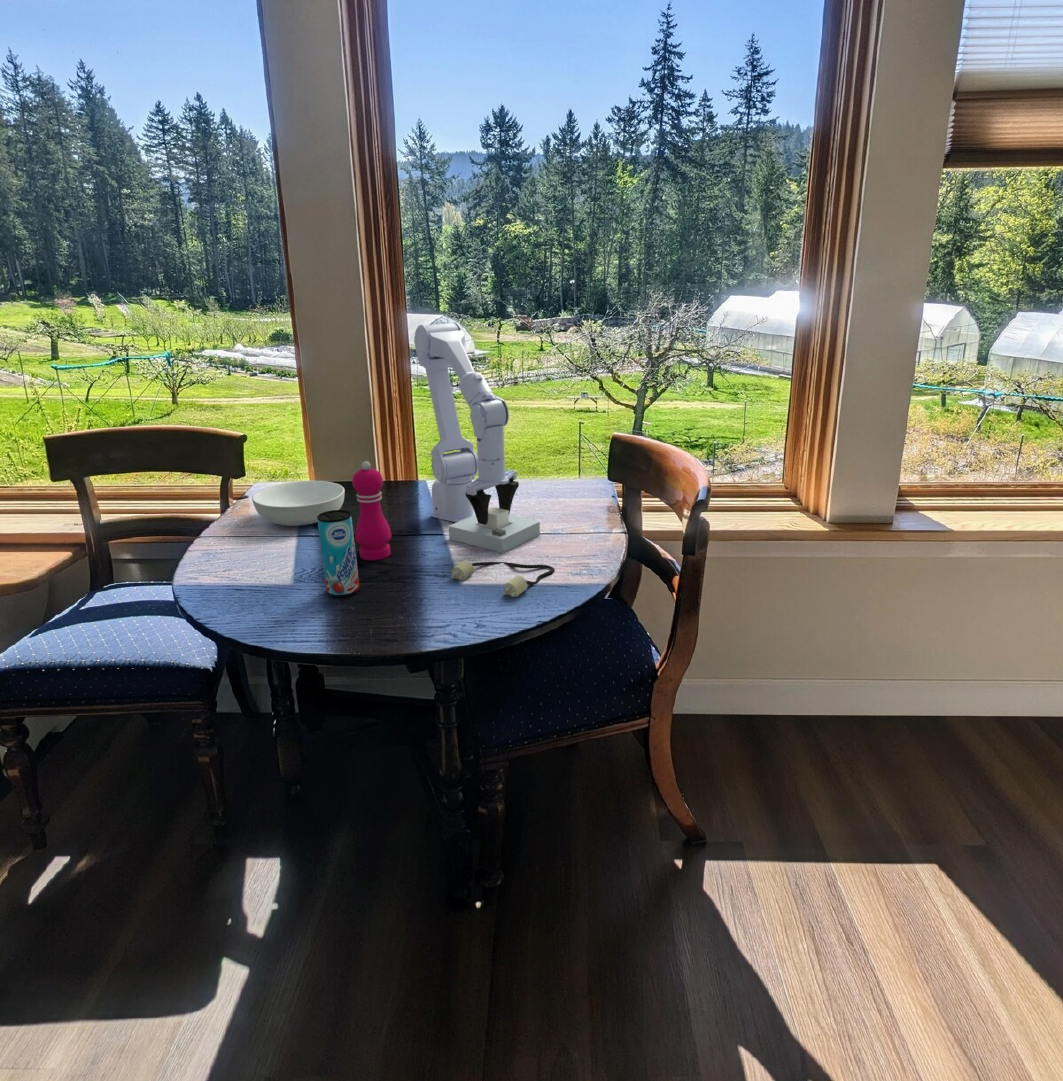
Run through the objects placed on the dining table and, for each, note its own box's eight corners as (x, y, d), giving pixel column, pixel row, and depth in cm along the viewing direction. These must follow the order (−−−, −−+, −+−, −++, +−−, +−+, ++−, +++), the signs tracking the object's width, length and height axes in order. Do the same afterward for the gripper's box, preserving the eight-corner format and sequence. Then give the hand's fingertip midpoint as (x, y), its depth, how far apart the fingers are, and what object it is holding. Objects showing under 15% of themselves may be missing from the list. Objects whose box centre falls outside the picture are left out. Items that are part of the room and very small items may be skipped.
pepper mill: (399, 550, 158) (390, 458, 151) (382, 563, 152) (372, 467, 145) (369, 547, 161) (359, 456, 154) (351, 559, 154) (339, 464, 147)
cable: (497, 556, 155) (497, 541, 154) (563, 574, 146) (563, 557, 145) (446, 581, 144) (445, 565, 142) (514, 602, 134) (513, 584, 133)
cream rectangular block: (480, 537, 165) (478, 511, 163) (492, 532, 168) (491, 506, 165) (497, 541, 162) (496, 515, 160) (509, 536, 165) (508, 510, 163)
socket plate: (449, 538, 164) (448, 522, 163) (487, 522, 174) (486, 506, 173) (502, 552, 156) (502, 535, 154) (539, 534, 165) (539, 518, 164)
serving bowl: (279, 542, 165) (274, 512, 163) (242, 520, 180) (237, 492, 178) (363, 520, 178) (360, 492, 175) (322, 501, 193) (319, 475, 190)
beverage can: (330, 600, 136) (319, 522, 130) (324, 588, 141) (314, 512, 135) (362, 594, 138) (354, 517, 133) (356, 583, 143) (347, 508, 138)
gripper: (483, 467, 151) (486, 531, 156) (527, 452, 162) (528, 512, 166) (457, 463, 155) (461, 525, 160) (501, 448, 166) (503, 507, 170)
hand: (493, 518), depth 163 cm, fingers open, 7 cm apart
